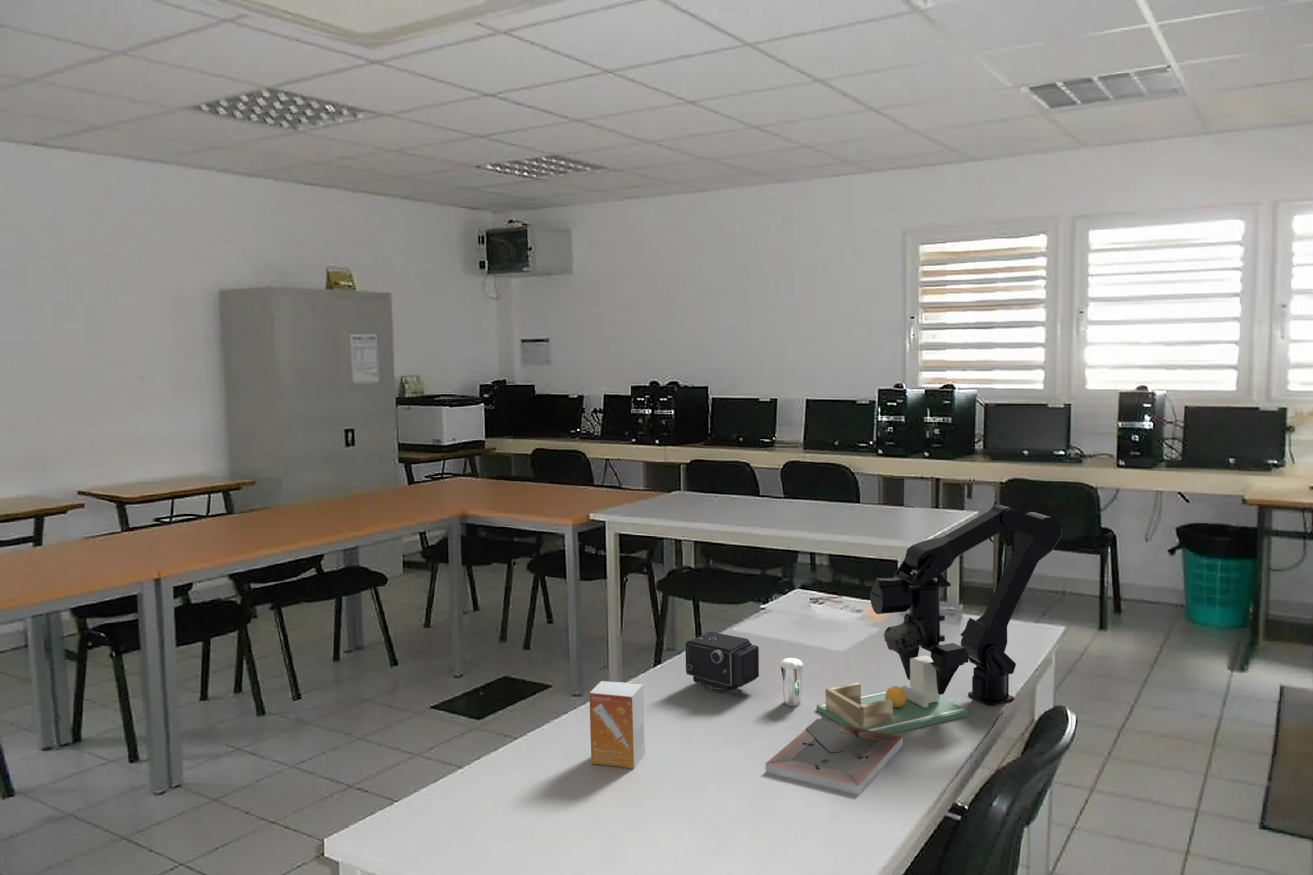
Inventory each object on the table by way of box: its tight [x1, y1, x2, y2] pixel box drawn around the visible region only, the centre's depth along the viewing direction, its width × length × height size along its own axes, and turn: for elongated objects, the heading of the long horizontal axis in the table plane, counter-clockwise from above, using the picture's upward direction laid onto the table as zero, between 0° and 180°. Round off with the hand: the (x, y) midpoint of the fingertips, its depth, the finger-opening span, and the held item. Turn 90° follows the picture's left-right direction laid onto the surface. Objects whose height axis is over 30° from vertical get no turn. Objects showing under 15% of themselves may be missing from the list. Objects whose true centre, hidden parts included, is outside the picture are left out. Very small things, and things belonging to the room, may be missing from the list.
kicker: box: [900, 655, 941, 708], centre depth 186 cm, size 5×7×8 cm
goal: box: [825, 682, 893, 728], centre depth 180 cm, size 8×11×4 cm
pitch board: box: [816, 685, 970, 735], centre depth 184 cm, size 24×16×1 cm, turn 113°
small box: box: [588, 680, 646, 770], centre depth 166 cm, size 8×6×13 cm
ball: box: [885, 686, 907, 708], centre depth 184 cm, size 4×4×4 cm
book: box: [765, 718, 904, 795], centre depth 164 cm, size 16×2×22 cm
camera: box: [685, 631, 760, 694], centre depth 199 cm, size 11×11×15 cm
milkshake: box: [780, 655, 808, 707], centre depth 190 cm, size 5×5×10 cm
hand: (925, 686), depth 187 cm, fingers open, 9 cm apart
